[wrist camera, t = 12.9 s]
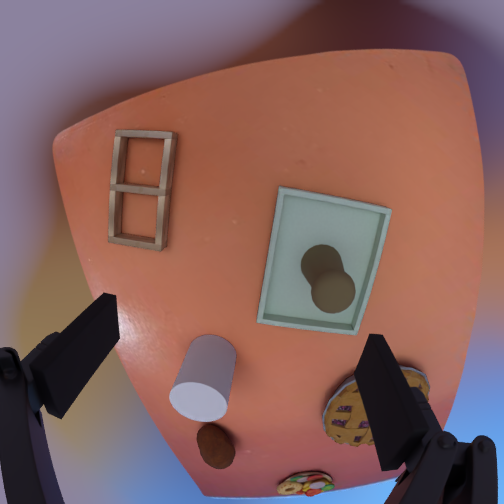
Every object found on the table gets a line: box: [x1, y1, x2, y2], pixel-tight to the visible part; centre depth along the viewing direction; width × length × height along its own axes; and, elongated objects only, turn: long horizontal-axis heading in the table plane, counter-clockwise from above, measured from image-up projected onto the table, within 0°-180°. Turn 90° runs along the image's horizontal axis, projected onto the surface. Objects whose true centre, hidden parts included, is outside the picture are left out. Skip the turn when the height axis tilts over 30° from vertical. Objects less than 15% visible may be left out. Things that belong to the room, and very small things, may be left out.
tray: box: [256, 186, 392, 335], centre depth 42 cm, size 20×16×3 cm
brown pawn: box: [301, 244, 356, 314], centre depth 37 cm, size 6×6×11 cm
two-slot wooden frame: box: [108, 130, 178, 251], centre depth 40 cm, size 17×9×2 cm, turn 172°
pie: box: [322, 365, 430, 447], centre depth 48 cm, size 22×22×5 cm
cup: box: [170, 335, 236, 422], centre depth 43 cm, size 8×8×12 cm
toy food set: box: [277, 472, 335, 496], centre depth 59 cm, size 13×13×3 cm
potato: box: [197, 425, 235, 469], centre depth 52 cm, size 8×12×8 cm, turn 19°
